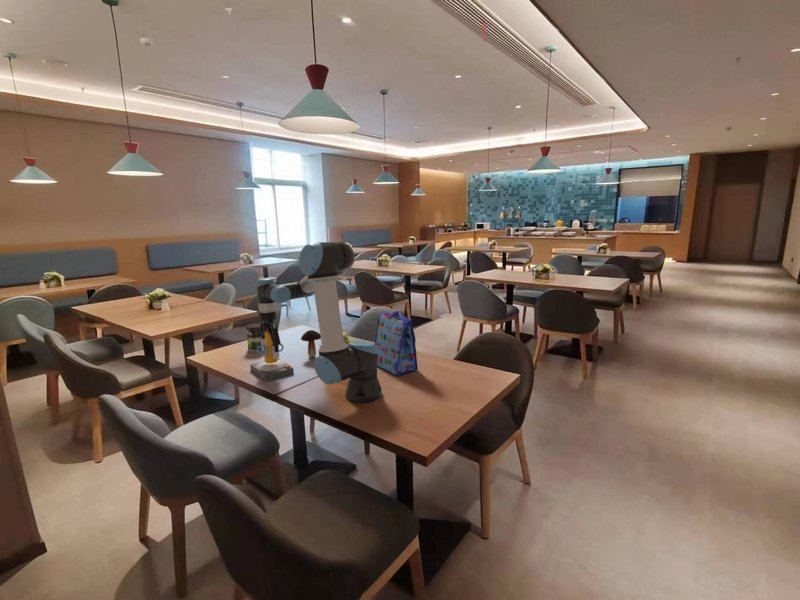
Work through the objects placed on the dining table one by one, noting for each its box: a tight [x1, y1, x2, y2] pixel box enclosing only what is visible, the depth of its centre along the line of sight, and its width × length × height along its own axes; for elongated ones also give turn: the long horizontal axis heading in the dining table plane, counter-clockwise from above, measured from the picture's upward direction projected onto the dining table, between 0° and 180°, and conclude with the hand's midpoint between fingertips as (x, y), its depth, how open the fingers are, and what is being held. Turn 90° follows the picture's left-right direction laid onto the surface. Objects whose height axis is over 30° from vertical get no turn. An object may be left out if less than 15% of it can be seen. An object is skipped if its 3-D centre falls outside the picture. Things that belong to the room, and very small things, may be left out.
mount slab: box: [249, 357, 295, 382], centre depth 193 cm, size 18×14×4 cm
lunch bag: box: [374, 310, 419, 377], centre depth 196 cm, size 22×14×29 cm, turn 37°
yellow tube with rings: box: [256, 331, 284, 363], centre depth 191 cm, size 12×10×15 cm
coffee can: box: [245, 322, 263, 353], centre depth 226 cm, size 10×10×14 cm
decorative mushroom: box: [300, 329, 321, 358], centre depth 212 cm, size 11×11×15 cm
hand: (270, 354), depth 192 cm, fingers closed on yellow tube with rings, 12 cm apart
